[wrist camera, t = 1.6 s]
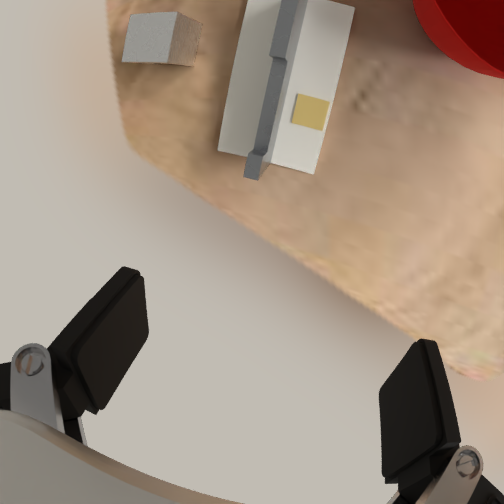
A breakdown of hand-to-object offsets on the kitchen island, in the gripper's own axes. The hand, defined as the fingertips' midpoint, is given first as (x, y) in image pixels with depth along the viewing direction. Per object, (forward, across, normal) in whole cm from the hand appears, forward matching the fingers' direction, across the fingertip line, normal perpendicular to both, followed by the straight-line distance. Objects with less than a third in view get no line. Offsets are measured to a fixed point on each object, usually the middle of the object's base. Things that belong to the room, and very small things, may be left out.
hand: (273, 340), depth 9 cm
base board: (+23, +4, -9) cm, 25 cm away
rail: (+23, +4, -9) cm, 25 cm away
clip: (+24, +16, -12) cm, 30 cm away
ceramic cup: (+23, -11, -22) cm, 34 cm away
